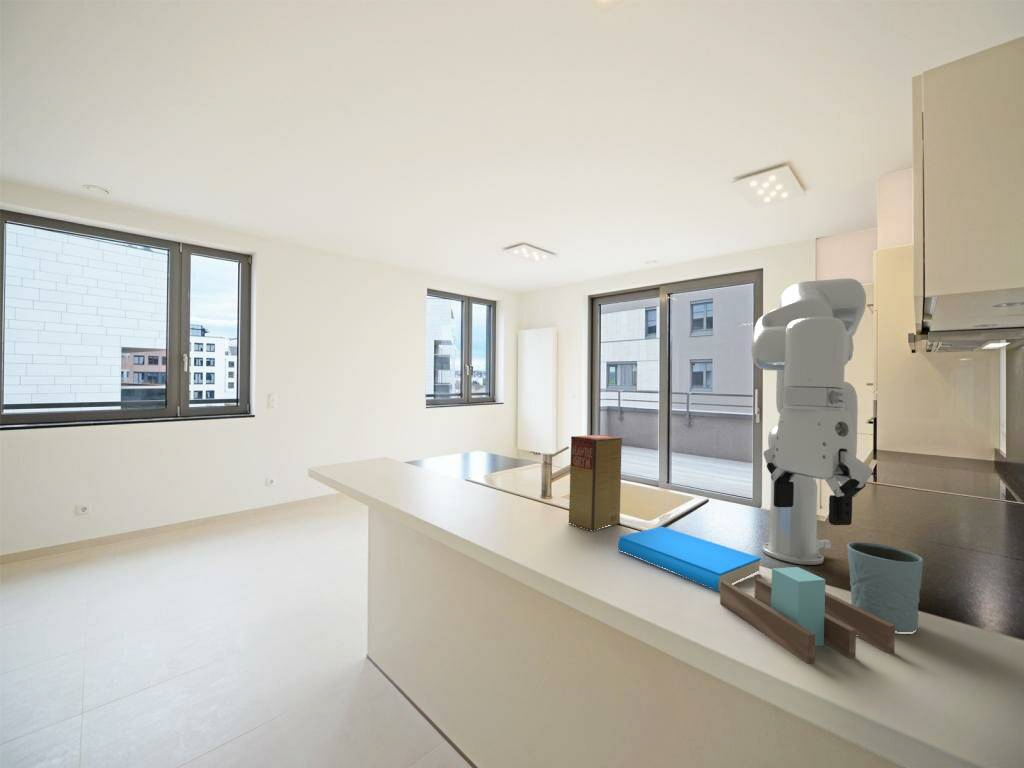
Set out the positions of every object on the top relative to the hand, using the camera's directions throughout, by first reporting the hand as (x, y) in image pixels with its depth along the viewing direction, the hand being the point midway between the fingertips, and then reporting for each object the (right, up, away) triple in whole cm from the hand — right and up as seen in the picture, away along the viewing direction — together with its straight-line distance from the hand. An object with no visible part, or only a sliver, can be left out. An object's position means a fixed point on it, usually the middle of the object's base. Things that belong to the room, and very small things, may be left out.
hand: (809, 515), depth 66 cm
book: (-5, -21, +34) cm, 41 cm away
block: (0, -20, +4) cm, 21 cm away
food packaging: (-21, -21, +61) cm, 68 cm away
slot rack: (+3, -21, +7) cm, 22 cm away
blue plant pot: (+19, -21, +10) cm, 31 cm away
